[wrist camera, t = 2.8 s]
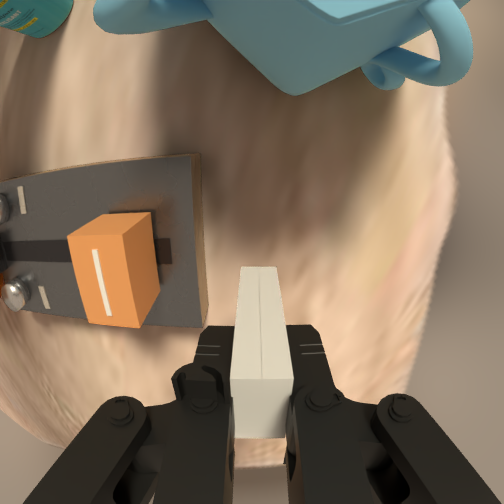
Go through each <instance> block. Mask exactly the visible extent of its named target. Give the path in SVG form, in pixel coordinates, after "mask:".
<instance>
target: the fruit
mask: <svg viewBox="0 0 504 504" xmlns="http://www.w3.org/2000/svg"><path fill="white" fill-rule="evenodd" d="M2 287H3V274H2V273H1V274H0V298H1V288H2Z"/></svg>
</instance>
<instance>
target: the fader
mask: <svg viewBox="0 0 504 504" xmlns="http://www.w3.org/2000/svg"><path fill="white" fill-rule="evenodd" d="M67 239H68V244H69V249H70V254H71V258H72V263H73V267H74V271H75V276H76V280H77V283H78V287H79V291H80V295H81V298H82V302H83V305H84V309H85V312H86V315H87V318H88V322H89V323H92V324H101V325H110V326H120V327H131V328H141V326H142V324H143V322H144V320H145V318H146V316H147V314H148V313H149V311H150V309H151V307H152V305H153V303H154V302H155V300H156V298H157V296H158V294H159V293H160V285H159V278H158V271H157V264H156V256H155V248H154V240H153V231H152V221H151V212H143V213H120V214H102V215H101V216H99V217H97V218H96V219H94V220H92V221H91V222H89V223H87V224H86V225H84V226H82V227H81V228H79V229H77V230H76V231H74V232H73V233H71V234H69V235H68V236H67Z"/></svg>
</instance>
